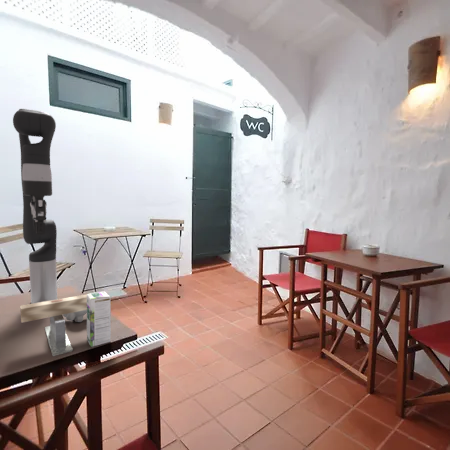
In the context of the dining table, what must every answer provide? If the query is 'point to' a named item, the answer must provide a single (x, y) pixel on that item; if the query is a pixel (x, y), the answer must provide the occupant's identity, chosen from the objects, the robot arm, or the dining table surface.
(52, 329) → the ridge
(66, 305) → the beam
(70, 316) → the chubby cartoon animal
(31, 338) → the dining table surface
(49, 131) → the robot arm
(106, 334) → the syrup box
